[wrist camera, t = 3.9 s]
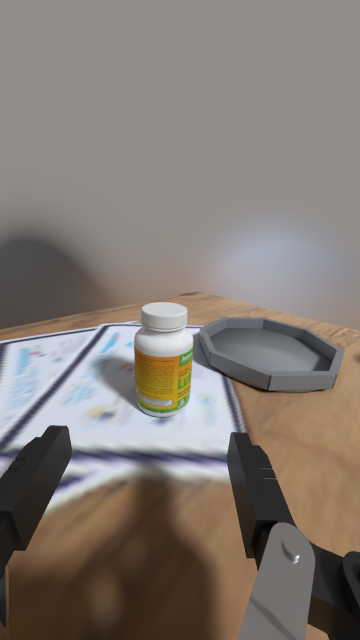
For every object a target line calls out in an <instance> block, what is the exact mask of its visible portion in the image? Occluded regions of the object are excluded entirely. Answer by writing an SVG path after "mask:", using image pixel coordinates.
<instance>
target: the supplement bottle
mask: <svg viewBox="0 0 360 640" xmlns="http://www.w3.org/2000/svg"><path fill="white" fill-rule="evenodd" d="M141 321H142V325H143V326H144V327H142V328H141V329H140V330H139V331H138V332H137V333H136V335H135V340H134V350H135V381H136V401H137V404H138V406H139V408H140V409H141V410H142V411H144V412H145V413H147V414H149V415H152V416H156V417H169V416H173V415H176V414H178V413H180V412H181V411H183V410H184V409H185V408H186V406H187V404H188V402H189V396H190V384H191V371H192V356H193V336H192V334H191V332H190V331H189V330H188V329H187V328H185V326H186V325H187V309H186V307H184V306H182V305H179V304H175V303H167V302H158V303H150V304H147V305H145V306H143V307H142V313H141Z"/></svg>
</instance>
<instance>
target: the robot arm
mask: <svg viewBox="0 0 360 640" xmlns="http://www.w3.org/2000/svg"><path fill="white" fill-rule="evenodd" d="M71 453H72V447H71V441H70V435H69V430H68V427H67V426H55V425H51V426H49V427H48V428H47V429H46V431H45V432H44V434H43V435H42V436H41V437H35V438H34V439H33V440H32V441H31V442H29V443H28V444H27V445H26V446H24V448H23V449H22V450H21V452H20V453H19V454H18V456H17V457H16V459H15V461H13V462H12V464H11V465H10V466H9V468H8V470H6V472H5V473H4V474H3V476H2V477H1V478H0V640H11V633H10V613H9V578H8V561H9V559H10V558H11V556H12V554H13V552H14V550H16V551H25V550H26V548H27V546H28V544H29V542H30V540H31V538H32V536H33V534H34V532H35V530H36V528H37V526H38V524H39V522H40V520H41V518H42V516H43V514H44V512H45V510H46V508H47V506H48V504H49V502H50V500H51V498H52V496H53V494H54V492H55V490H56V488H57V486H58V484H59V481H60V479H61V477H62V475H63V473H64V471H65V469H66V467H67V465H68V463H69V461H70V458H71ZM227 463H228V470H229V475H230V480H231V485H232V490H233V495H234V499H235V504H236V509H237V514H238V519H239V524H240V529H241V533H242V538H243V543H244V548H245V553H246V558H255V561H256V565H257V570H258V574H257V577H256V580H255V584H254V587H253V590H252V593H251V597H250V600H249V603H248V606H247V610H246V613H245V616H244V619H243V623H242V626H241V629H240V632H239V636H238V639H237V640H305V635H306V628H307V623H308V624H310V625H312V626H314V627H316V628H318V629H320V630H321V631H323V632H325V633H327V635H328V638H329V640H360V552H356V551H351V552H348V553H347V554H346V555H345V556H344V557H341V556H339V555H337V554H334V553H332V552H329V551H327V550H325V549H322V548H320V547H318V546H316V545H314V544H313V543H311V542H310V541H309V540H308V539H307V538H306V537H305V535H304V534H303V533H302V532H301V531H300V530H299V529H298V528H297V526H296V525H295V523H294V521H293V519H292V516H291V514H290V511H289V509H288V506H287V504H286V501H285V499H284V496H283V493H282V491H281V488H280V486H279V483H278V481H277V480H276V476H275V473H274V471H273V470H272V466H271V463H270V461H269V458H268V456H267V455H266V453H265V452H264V451H263V450H262V448H261V447H260V446H259V445H252V444H251V441H250V438H249V435H248V434H247V433H238V432H232V433H231V436H230V442H229V448H228V454H227Z"/></svg>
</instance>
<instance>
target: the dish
mask: <svg viewBox="0 0 360 640" xmlns="http://www.w3.org/2000/svg"><path fill="white" fill-rule="evenodd" d="M225 328H226V329H225ZM261 328H262V329H261ZM199 340H200V343H201V346H202V348H203V351H204V354H205V356H206V358H207V361H208V364H210V365H211V366H214V367H215V368H217V369H218V370H219V371H221V372H222V373H224V374H225V375H227V376H229V377H231V378H233V379H235V380H237V381H240V382H242V383H245V384H248V385H251V386H254V387H257V388H261V389H265V390H270V391H276V392H284V393H307V392H313V391H317V390H320V389H332V388H333V386H334V383H335V380H336V377H337V375H338V371H339V368H340V365H341V361H342V358H343V355H344V351H343V350H342V349H340V348H339V347H337V346H335V345H334V344H332V343H330V342H329V341H327V340H326V339H324V338H322V337H321V336H319V335H318V334H316V333H314V332H313V331H311V330H310V329H306V328H302V327H299V326H295V325H291V324H287V323H283V322H279V321H275V320H271V319H267V318H244V317H223V318H221V319H219V320H217V321H215V322H213V323H210V324H208V325H206V326H204V327H202V328H200V334H199ZM303 340H304V341H303ZM332 361H333V362H332Z"/></svg>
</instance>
